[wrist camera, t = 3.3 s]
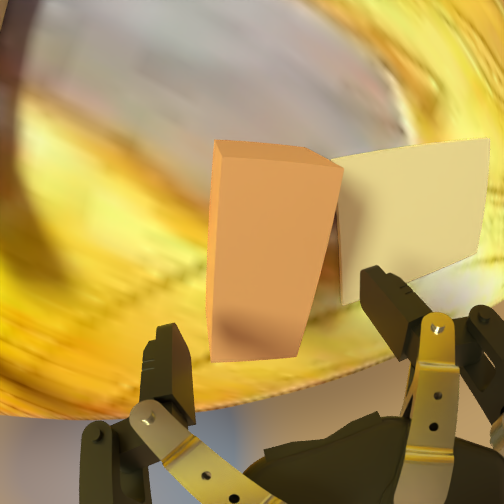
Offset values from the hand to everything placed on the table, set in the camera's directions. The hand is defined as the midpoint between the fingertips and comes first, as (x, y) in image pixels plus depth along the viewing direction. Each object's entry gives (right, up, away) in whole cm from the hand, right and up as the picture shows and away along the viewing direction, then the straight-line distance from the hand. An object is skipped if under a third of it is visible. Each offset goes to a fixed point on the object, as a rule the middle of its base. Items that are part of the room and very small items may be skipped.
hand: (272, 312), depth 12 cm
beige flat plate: (+12, +5, +7) cm, 15 cm away
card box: (-1, +4, +6) cm, 7 cm away
